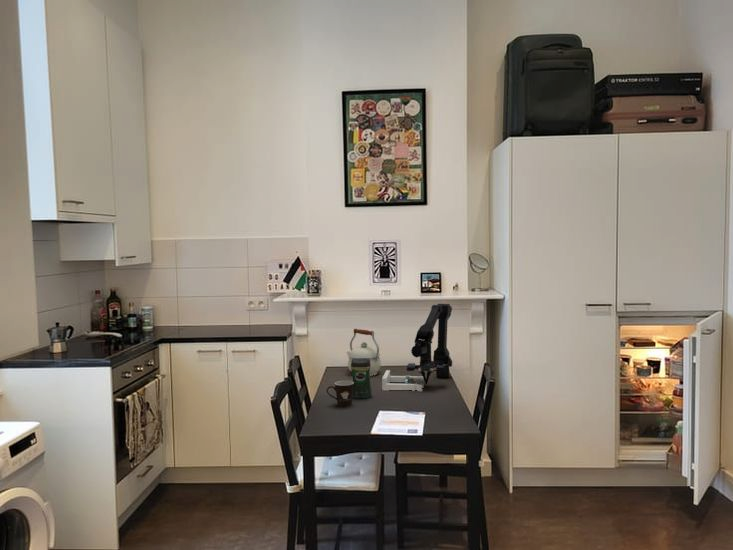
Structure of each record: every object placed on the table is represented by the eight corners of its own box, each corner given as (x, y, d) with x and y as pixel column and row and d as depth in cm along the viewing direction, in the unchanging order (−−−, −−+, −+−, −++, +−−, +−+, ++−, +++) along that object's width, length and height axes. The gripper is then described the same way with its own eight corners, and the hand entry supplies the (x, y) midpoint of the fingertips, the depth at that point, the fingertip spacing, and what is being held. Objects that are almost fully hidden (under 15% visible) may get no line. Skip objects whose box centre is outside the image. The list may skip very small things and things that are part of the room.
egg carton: (408, 384, 276) (408, 376, 275) (423, 384, 275) (423, 376, 275) (409, 389, 265) (409, 381, 265) (424, 389, 265) (424, 381, 264)
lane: (424, 381, 279) (423, 370, 278) (422, 391, 261) (422, 379, 260) (386, 381, 282) (386, 369, 281) (382, 390, 264) (382, 378, 263)
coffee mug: (356, 402, 245) (356, 381, 244) (350, 408, 237) (349, 386, 236) (333, 400, 249) (332, 379, 248) (326, 406, 240) (325, 384, 240)
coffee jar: (372, 394, 258) (371, 356, 257) (371, 399, 250) (370, 360, 249) (352, 394, 259) (351, 356, 258) (350, 399, 251) (349, 360, 250)
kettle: (390, 373, 298) (389, 329, 296) (367, 380, 285) (366, 334, 283) (358, 367, 315) (357, 325, 314) (335, 373, 302) (334, 329, 301)
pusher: (409, 382, 277) (409, 373, 276) (407, 388, 265) (407, 378, 265) (407, 382, 277) (407, 373, 277) (405, 388, 265) (405, 378, 265)
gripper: (405, 356, 262) (406, 388, 263) (444, 356, 259) (444, 388, 260) (407, 352, 273) (408, 382, 274) (444, 352, 270) (444, 382, 271)
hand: (426, 384), depth 269 cm, fingers closed
